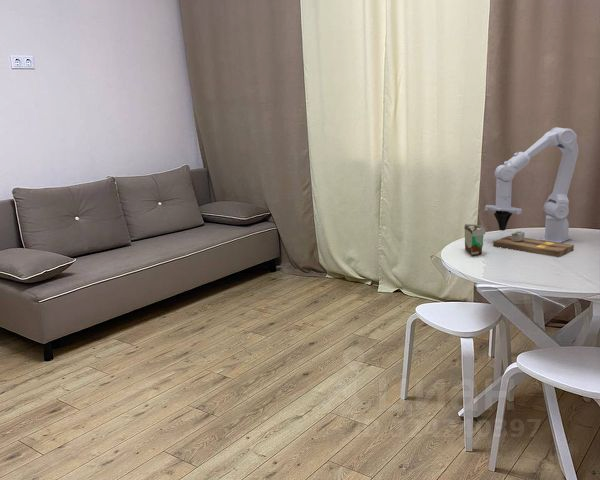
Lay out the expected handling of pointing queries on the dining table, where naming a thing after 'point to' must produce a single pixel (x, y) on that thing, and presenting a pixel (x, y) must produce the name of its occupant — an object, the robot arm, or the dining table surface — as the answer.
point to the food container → (474, 239)
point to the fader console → (535, 246)
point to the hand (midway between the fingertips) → (502, 230)
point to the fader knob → (517, 236)
